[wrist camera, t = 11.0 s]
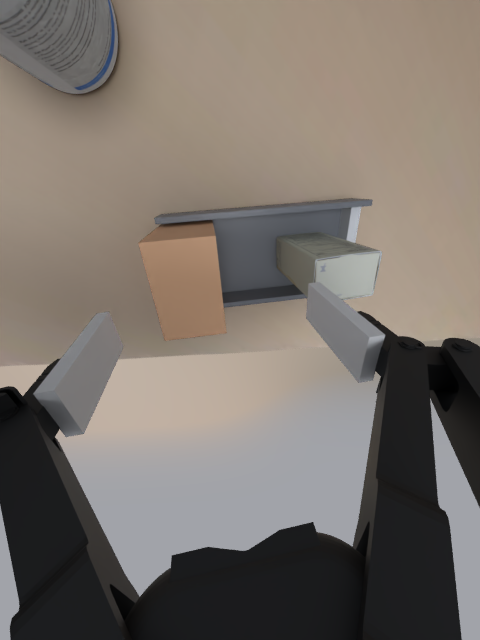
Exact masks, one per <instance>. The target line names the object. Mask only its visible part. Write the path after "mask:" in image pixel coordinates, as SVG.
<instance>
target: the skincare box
mask: <svg viewBox="0 0 480 640" xmlns="http://www.w3.org/2000/svg"><path fill="white" fill-rule="evenodd" d="M276 252H277V269H279V270H280V271H281V272H282V273H283V274H284V275H285V276H286V277H287V278H288V279H289V280H290V281H291V282H292V283H293V284H294V285H295V286H296V287H297V288H298V289H299V290H300V291H301V292H302V293H303V294H304V295H305V296H306V297H308V284H309V283H315V282H320V283H321V284H323V285H324V286H325V287H326V288H328V289H329V290H330V291H331V292H333V293H334V294H335V295H336V296H338V297H339V298H340V299H341V300H348V299H353V298H359V297H366V296H371V295H373V292H374V288H375V283H376V279H377V275H378V270H379V265H380V260H381V255H382V252H381V251H379V250H376V249H372V248H369V247H366V246H363V245H360V244H356V243H353V242H350V241H347V240H344V239H341V238H338V237H334V236H331V235H328V234H325V233H322V232H314V233H303V234H294V235H286V236H279V237H277V246H276Z"/></svg>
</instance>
